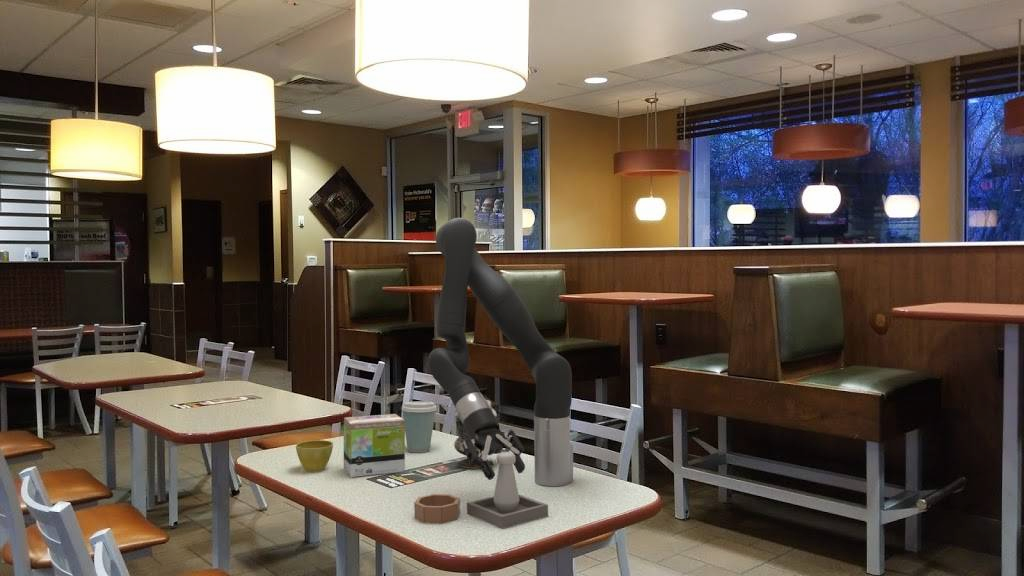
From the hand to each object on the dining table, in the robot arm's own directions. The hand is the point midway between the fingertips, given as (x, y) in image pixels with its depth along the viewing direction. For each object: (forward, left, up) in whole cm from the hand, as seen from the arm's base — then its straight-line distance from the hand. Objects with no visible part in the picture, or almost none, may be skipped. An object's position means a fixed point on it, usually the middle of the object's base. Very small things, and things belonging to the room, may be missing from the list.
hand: (507, 474), depth 176 cm
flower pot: (+17, -66, -9) cm, 68 cm away
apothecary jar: (-20, -41, -9) cm, 46 cm away
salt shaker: (0, -1, -9) cm, 9 cm away
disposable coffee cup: (-17, -66, -9) cm, 69 cm away
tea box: (+5, -54, -9) cm, 55 cm away
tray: (0, 0, -9) cm, 9 cm away
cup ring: (+13, -10, -9) cm, 18 cm away
